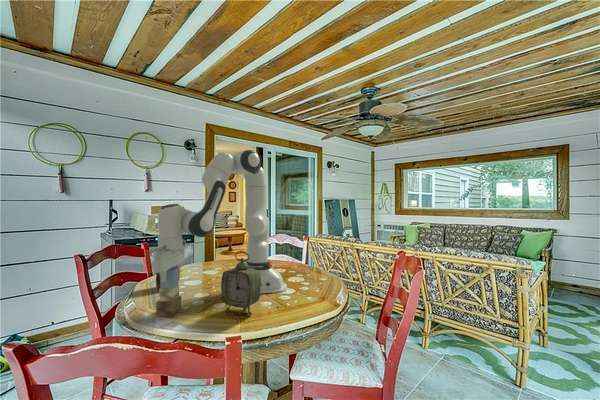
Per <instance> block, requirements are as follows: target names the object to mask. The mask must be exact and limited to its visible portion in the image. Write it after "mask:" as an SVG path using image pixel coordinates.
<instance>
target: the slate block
mask: <svg viewBox="0 0 600 400" xmlns="http://www.w3.org/2000/svg"><path fill="white" fill-rule="evenodd" d="M166 276H167V277H168V278H167V279H168V280H167V281H166V282H161V276H160V288H168V289H173V288H174V287H176V286H177V285H179V283H178V268H170V269H168V270H167V273H166ZM160 288H159V289H160Z"/></svg>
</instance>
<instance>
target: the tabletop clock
mask: <svg viewBox="0 0 600 400" xmlns="http://www.w3.org/2000/svg"><path fill="white" fill-rule="evenodd" d="M238 254H245V255H246V256H247V255H248V253H247V251H243V250H241V251H237V252H236V253H235V254H234V258H235V259H236V261H238V263H237V264H236V266H235V267H233V268H231V269H227V270H225V271H223V273H222V275H221V286H220V289H221V292H220V293H221V298H222V302H223V303H224V304H225V305H228V306H227V307H226V308H225V312H227V313H228V312H230V308H231V307H233V308H242V310H244V311H247V317H251V316H252V312H251V311H250V308H251V307H250V306H253V305H254V304H256V303H257V302H259V300H260V298H261V294H262V293H261V276H260V272H259V271H258V270H256V269H253V268H249V267H248V265H247V263H246V261H248V260H249V255H248V259H247V258H246V259H244V258H243V257H240V258H238V257H237V255H238Z"/></svg>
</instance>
